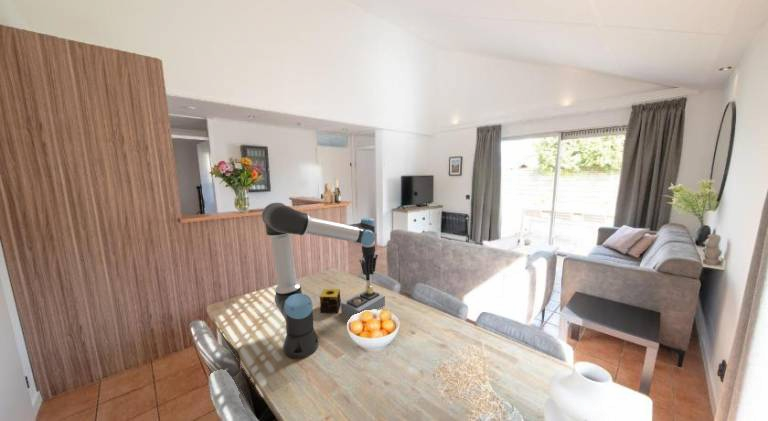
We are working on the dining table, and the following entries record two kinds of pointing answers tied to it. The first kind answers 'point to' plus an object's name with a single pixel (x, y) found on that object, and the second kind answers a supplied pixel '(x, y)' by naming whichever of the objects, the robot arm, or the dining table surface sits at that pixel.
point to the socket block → (362, 303)
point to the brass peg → (369, 290)
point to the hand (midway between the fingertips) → (369, 284)
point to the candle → (330, 301)
